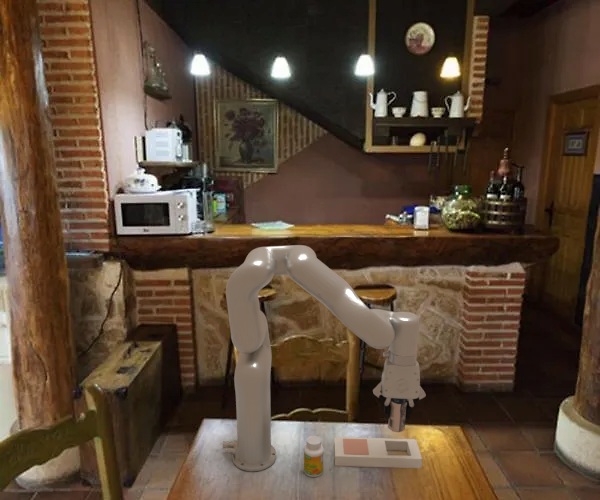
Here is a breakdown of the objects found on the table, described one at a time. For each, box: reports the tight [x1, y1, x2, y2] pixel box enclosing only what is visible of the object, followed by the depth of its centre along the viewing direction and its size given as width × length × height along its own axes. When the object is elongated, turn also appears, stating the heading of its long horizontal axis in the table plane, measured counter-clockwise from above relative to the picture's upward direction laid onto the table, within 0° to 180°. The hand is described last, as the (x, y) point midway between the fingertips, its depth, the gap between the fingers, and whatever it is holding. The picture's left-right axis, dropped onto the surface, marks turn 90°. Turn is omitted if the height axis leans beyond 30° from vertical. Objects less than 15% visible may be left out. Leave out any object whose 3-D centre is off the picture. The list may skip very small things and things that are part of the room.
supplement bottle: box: [303, 435, 325, 478], centre depth 132 cm, size 5×5×10 cm
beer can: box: [387, 398, 408, 433], centre depth 136 cm, size 5×5×12 cm
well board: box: [333, 436, 423, 469], centre depth 139 cm, size 24×9×3 cm, turn 88°
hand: (397, 416), depth 136 cm, fingers closed on beer can, 4 cm apart
